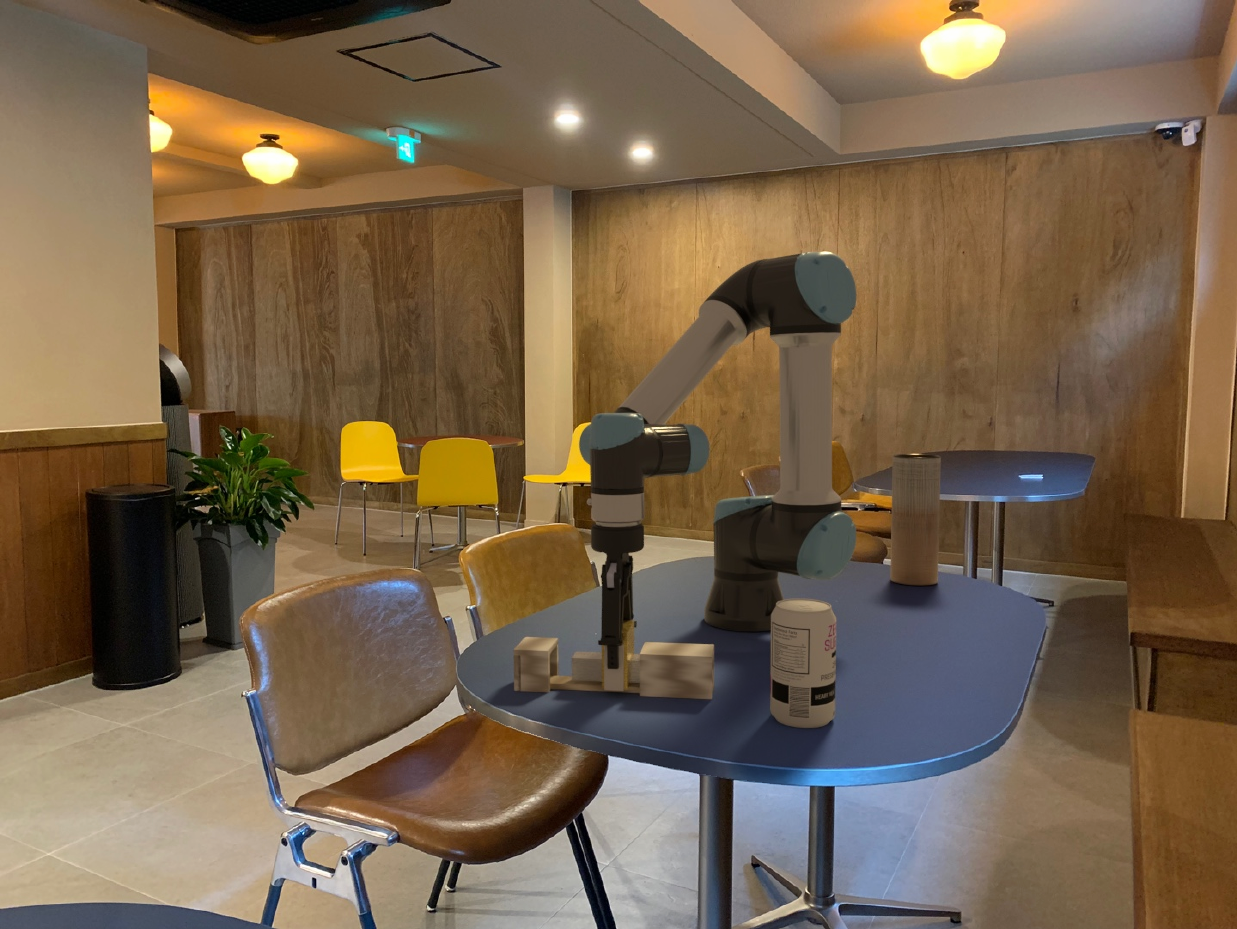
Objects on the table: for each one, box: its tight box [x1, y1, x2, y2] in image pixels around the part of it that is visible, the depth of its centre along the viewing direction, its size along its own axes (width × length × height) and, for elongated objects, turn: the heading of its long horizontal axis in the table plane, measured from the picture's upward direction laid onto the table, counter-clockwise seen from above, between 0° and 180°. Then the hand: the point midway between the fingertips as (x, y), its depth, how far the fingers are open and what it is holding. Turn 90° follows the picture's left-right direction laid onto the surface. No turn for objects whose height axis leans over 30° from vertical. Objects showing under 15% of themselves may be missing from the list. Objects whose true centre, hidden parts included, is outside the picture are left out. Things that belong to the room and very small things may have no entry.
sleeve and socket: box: [513, 636, 715, 700], centre depth 130 cm, size 28×7×6 cm, turn 81°
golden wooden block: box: [571, 619, 640, 690], centre depth 129 cm, size 20×7×8 cm, turn 81°
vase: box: [889, 453, 942, 587], centre depth 198 cm, size 10×10×28 cm
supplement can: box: [769, 598, 837, 729], centre depth 117 cm, size 8×8×15 cm
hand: (618, 680), depth 130 cm, fingers closed on golden wooden block, 7 cm apart
